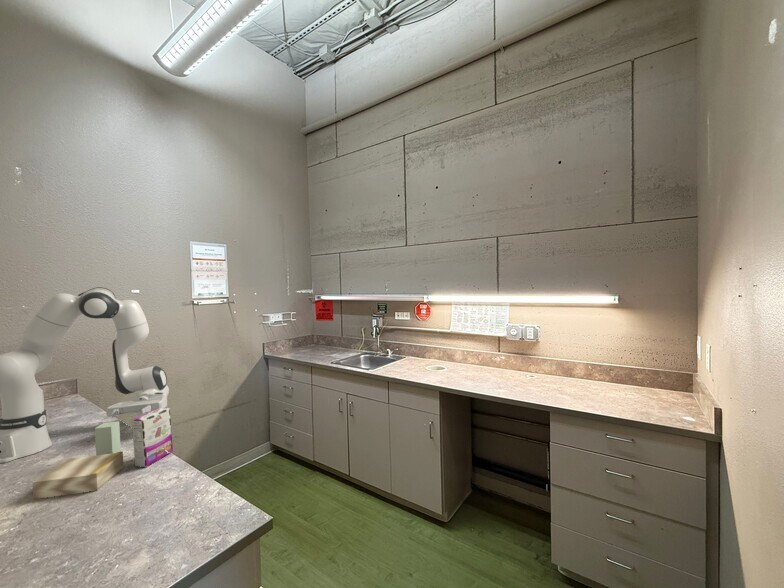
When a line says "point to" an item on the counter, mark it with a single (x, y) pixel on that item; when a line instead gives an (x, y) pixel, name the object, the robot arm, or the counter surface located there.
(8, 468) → the counter surface
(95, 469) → the dock
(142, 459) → the candy bar box
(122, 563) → the counter surface
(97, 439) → the pale green block
